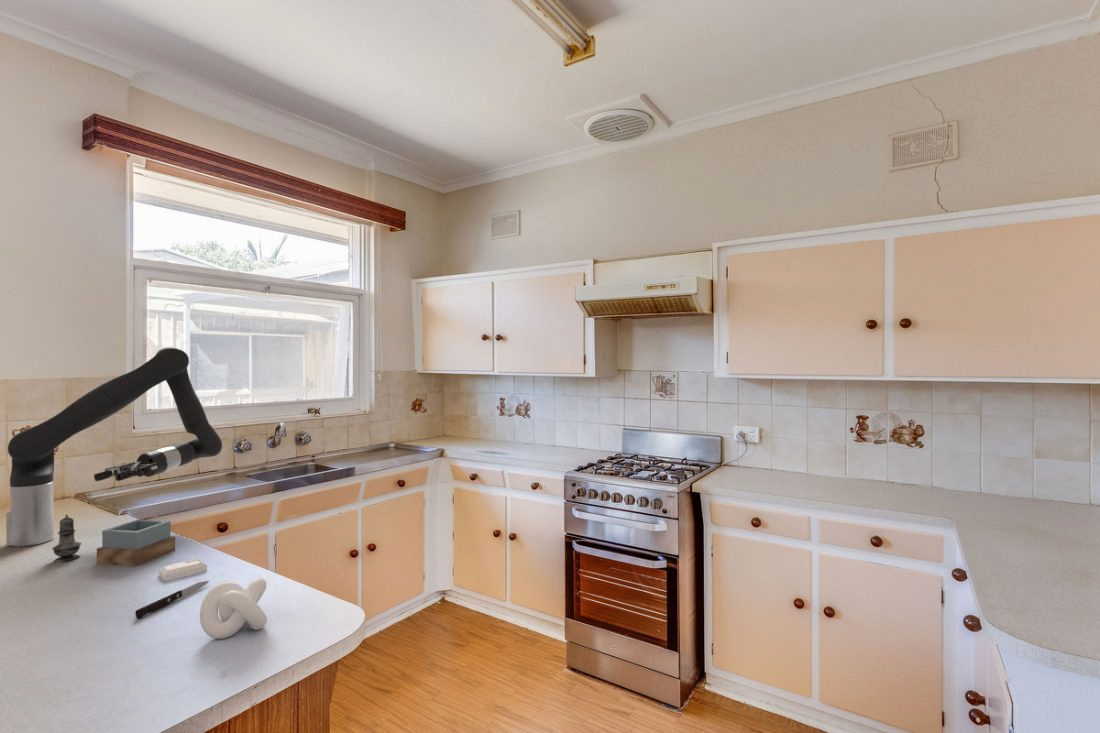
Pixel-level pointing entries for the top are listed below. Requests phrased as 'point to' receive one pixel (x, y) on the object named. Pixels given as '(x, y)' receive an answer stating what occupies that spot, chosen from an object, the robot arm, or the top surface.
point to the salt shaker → (66, 542)
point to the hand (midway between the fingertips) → (105, 477)
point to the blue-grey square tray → (136, 534)
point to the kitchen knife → (168, 600)
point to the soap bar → (182, 569)
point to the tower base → (135, 553)
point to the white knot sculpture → (232, 608)
